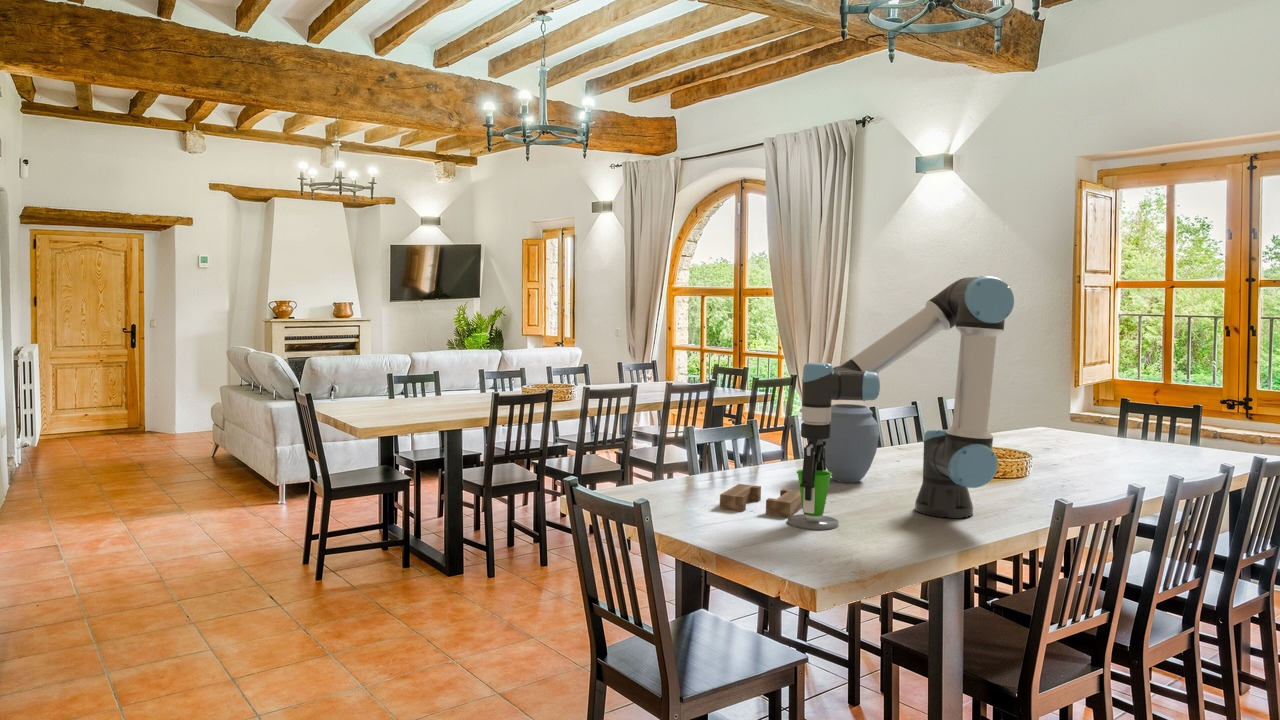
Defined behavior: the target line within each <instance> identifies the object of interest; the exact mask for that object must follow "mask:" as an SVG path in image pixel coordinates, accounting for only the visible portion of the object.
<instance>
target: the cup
mask: <svg viewBox="0 0 1280 720" xmlns="http://www.w3.org/2000/svg"><path fill="white" fill-rule="evenodd" d="M802 472H803V468H802V469H798V470H797V471H796V474H797V477H798V485H799V491H800V494H801V501H802V508H801V510H803V495H804V487H800V484H801V483H802ZM831 475H832V473H831V472H829V471H828V470H826V471H825V470H823V471H818V470H816V474H815V481H814V487H813V488H815V503H814V513H805V512H803V511H802V512H803V513H802V514H804V515H807V516H822V515H823V514H824V512H825V507H826V502H827V497H828V491H829V485H830V480H831V477H832V476H831ZM807 482H809V481H807ZM823 516H824V515H823Z"/></svg>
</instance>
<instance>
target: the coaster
mask: <svg viewBox="0 0 1280 720" xmlns="http://www.w3.org/2000/svg"><path fill="white" fill-rule="evenodd" d="M787 523H788V524H789V525H790V526H792V527H794V528H798V529H803V530H811V531H826V530H827V531H829V530H833V529H837V528H838V527H839V524H840V523H839V520H838V519H837V518H834V517H831V516H827V515H822V516H807V515H804V513H801V514H794V515H793V516H790V517H787Z"/></svg>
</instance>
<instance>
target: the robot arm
mask: <svg viewBox="0 0 1280 720" xmlns="http://www.w3.org/2000/svg"><path fill="white" fill-rule="evenodd" d="M1014 306H1015V297H1014V293H1013V290H1012V289H1011V287H1010V285H1009V284H1008V283H1007V282H1005V281H1004V280H1002V279H1001V278H999V277H996V276H988V275H984V276H983V275H979V276H973V277H971V276H970V277H963V278H960V279H957V280H956V281H954V282H952V283H951V284H949V285H948V286H946V287H945V288H944V289H942V290H941V291H940V292H938V293H937V294H935V295H934V296H933V297H932V298H930V299H929V300H927V301H926V302H925V307H924V308H921V310H919V311H918V312H917V313H915V314H914V315H912V316H910V317H909V318H908V319H907V320H905V321H904V322H902V323H900V324H899V325H898V326H896V327H894V328H893V329H892V330H890V331H889V332H887V333H886V334H885V335H883V336H882V337H880V338H879V339H877V340H876V341H874V342H873V343H871V344H870V345H868V346H867V347H866V348H864V349H863V350H862V351H860V352H859V353H857V354H855V355H854V356H852V357H851V358H850V359H849V360H847V361H845V362H844V363H843V364H841V365H838V366H837V365H836V366H834V367H833V364H832V363H828V362H806V364H804V366H803V368H802V379H801V383H802V384H801V387H802V388H801V389H802V390H801V393H802V394H801V408H799V412H800V413H801V422H802V423H800V437H801V438H803V439H807V444H806V445H805V446H804V447H803V463H802V469H803V472H802V483H801V484H800V486H799V488H800V487H804V495H803V509H802V512H805V513H814V503H815V488H813V487H814V481H815V474H816V470H818V471H823V470H825V471H827V468H826V441H823V439H829V438H830V433H831V425H830V424H829V422H831V406H832V401H841V400H842V401H862V402H866V401H875V400H877V398H878V397H879V395H880V390H881V383H880V382H881V381H880V377H879V375H878V374H880V373H881V372H883V371H884V370H886V368H889V367H890V366H892V365H893V364H894V363H896V362H897V361H899V360H900V359H902V358H903V357H904V356H906V355H907V354H909V353H911V352H912V351H913V350H915V349H916V348H918V347H919V346H920V345H922V344H923V343H925V342H926V341H928V340H929V339H931V338H932V337H934V336H935V335H937V334H939V333H940V332H941V331H949V330H951V329H952V328H954V327H955V328H956V330H957V331H958V332H959V333H960V340H959V341H960V343H959V352H958V363H957V374H956V383H955V392H954V393H955V395H954V402H953V403H954V405H953V415H952V425H951V426H950V427H948V428H947V429H927V430H926V431H925V433H924V438H923V458H922V459H923V462H922V463H923V464H922V465H923V466H922V467H923V468H922V484H921V486H920V488H919V491H918V494H917V496H916V499H915V503H914V505H915V506H914V510H915V511H916V512H917V511H918V513H919V512H920V514H922V513H923V515H925V514H927V515H926V516H930V515H931V516H930V517H935V516H938V517H937V518H943V517H948V518H947V519H964V518H963V517H966V518H969V517H968V516H970V517H972V516H973V515H974V504H973V502H972V498H971V494H970V492H969V488H970V489H976V488H981V487H984V486H985V485H987V484H988V483H989V482H991V481H992V480H993V479H994V477H995V476H996V474H997V471H998V467H999V461H998V457H997V455H996V453H995V452H994V450H993V441H994V435H992V433H991V431H989V429H988V426H989V416H990V407H991V396H992V387H993V378H994V377H993V376H994V375H993V374H994V366H995V357H996V356H995V355H996V345H997V338H998V336H999V335H1000V334H1002V333H1003V332H1004V331H1005V320H1006V318H1008V317H1009V316H1010V314H1011V313H1012V311H1013V309H1014ZM807 481H809V482H807ZM971 515H972V516H971Z"/></svg>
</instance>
